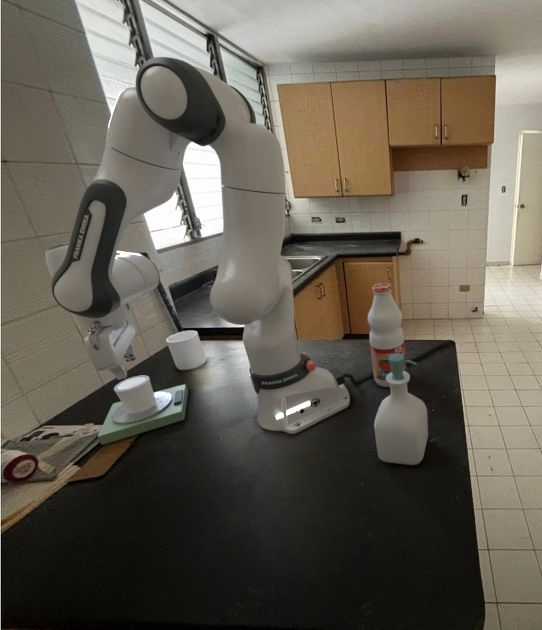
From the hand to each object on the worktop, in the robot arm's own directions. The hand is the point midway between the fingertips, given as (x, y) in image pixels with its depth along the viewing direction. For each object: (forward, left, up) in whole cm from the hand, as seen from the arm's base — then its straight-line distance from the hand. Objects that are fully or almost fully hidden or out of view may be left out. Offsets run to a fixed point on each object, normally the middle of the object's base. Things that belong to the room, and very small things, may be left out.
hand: (127, 368), depth 79 cm
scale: (0, 0, -14) cm, 14 cm away
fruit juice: (-59, +19, -14) cm, 64 cm away
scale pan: (0, 0, -12) cm, 12 cm away
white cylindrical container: (+1, 0, -11) cm, 11 cm away
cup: (-7, -26, -14) cm, 31 cm away
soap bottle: (-50, +45, -14) cm, 69 cm away
